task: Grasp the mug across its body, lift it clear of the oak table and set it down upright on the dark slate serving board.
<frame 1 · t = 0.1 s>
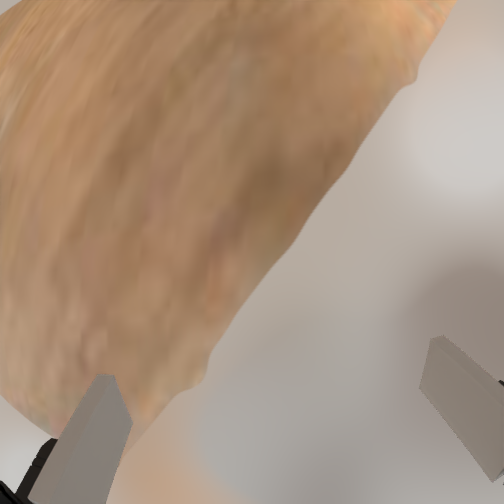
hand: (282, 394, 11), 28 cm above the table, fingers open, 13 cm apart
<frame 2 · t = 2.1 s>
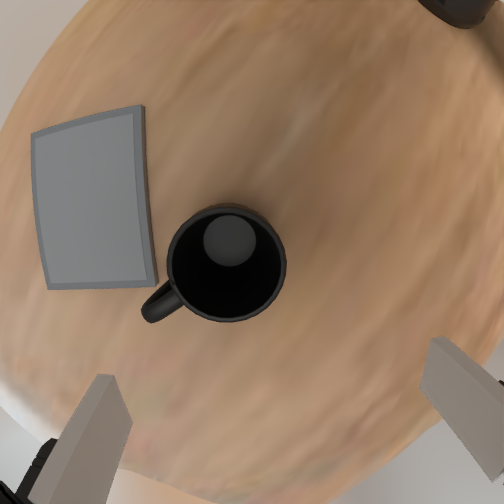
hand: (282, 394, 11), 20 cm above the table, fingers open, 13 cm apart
slate board: (88, 203, 27), on the table
mug: (213, 250, 29), on the table
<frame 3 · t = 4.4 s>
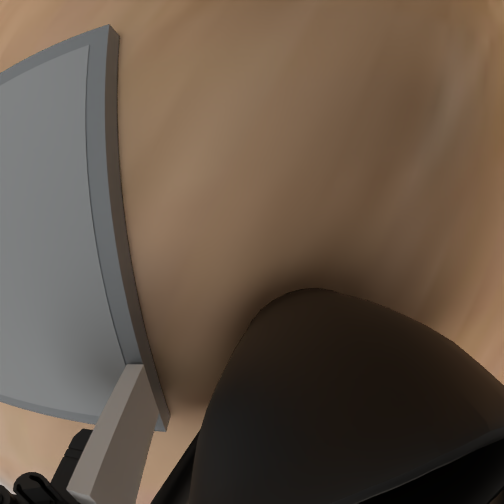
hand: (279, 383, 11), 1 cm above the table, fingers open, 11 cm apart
slate board: (10, 256, 11), on the table
mug: (269, 365, 13), on the table, touching gripper
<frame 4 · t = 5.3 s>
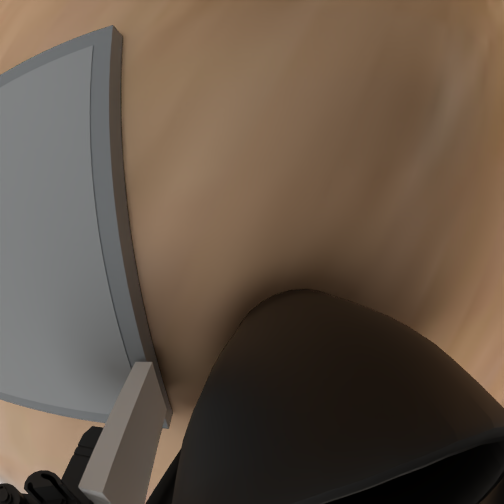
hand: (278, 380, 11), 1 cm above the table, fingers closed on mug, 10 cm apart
slate board: (13, 255, 11), on the table
mug: (261, 366, 13), on the table, touching gripper
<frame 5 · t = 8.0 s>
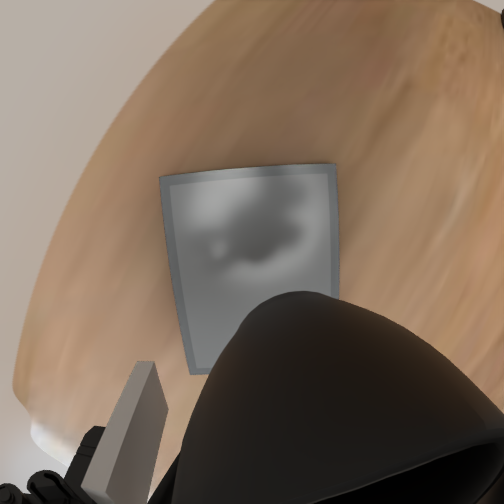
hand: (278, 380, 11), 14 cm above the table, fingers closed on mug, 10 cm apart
slate board: (256, 275, 26), on the table
mug: (260, 366, 13), point 13 cm above the table, touching gripper
when the fingers open (3 cm above the table, at t = 10.9 s): mug stays where it is, resting on slate board.
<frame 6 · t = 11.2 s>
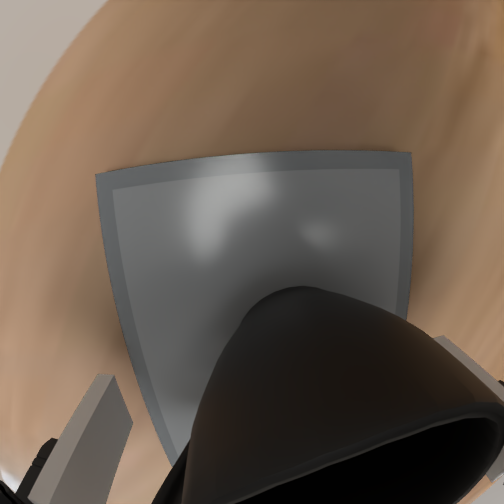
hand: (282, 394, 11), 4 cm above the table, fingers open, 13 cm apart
slate board: (270, 342, 15), on the table
mug: (262, 360, 14), point 1 cm above the table, touching slate board
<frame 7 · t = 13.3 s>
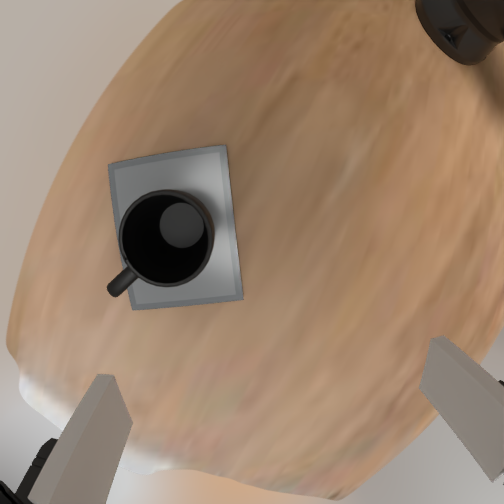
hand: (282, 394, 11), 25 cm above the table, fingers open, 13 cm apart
slate board: (175, 230, 34), on the table
mug: (169, 235, 33), point 1 cm above the table, touching slate board
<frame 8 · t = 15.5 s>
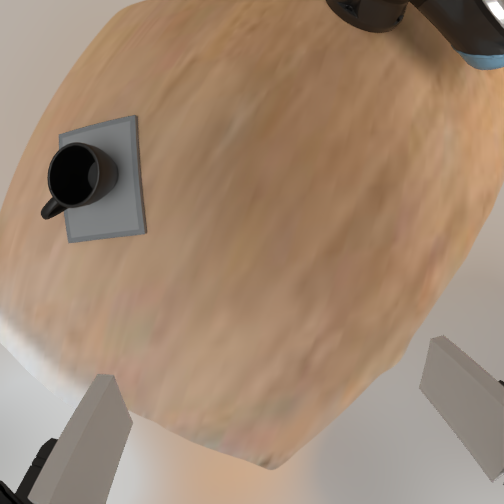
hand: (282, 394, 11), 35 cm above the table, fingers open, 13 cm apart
slate board: (100, 180, 41), on the table
mug: (94, 183, 40), point 1 cm above the table, touching slate board
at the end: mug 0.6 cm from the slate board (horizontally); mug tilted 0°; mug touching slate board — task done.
